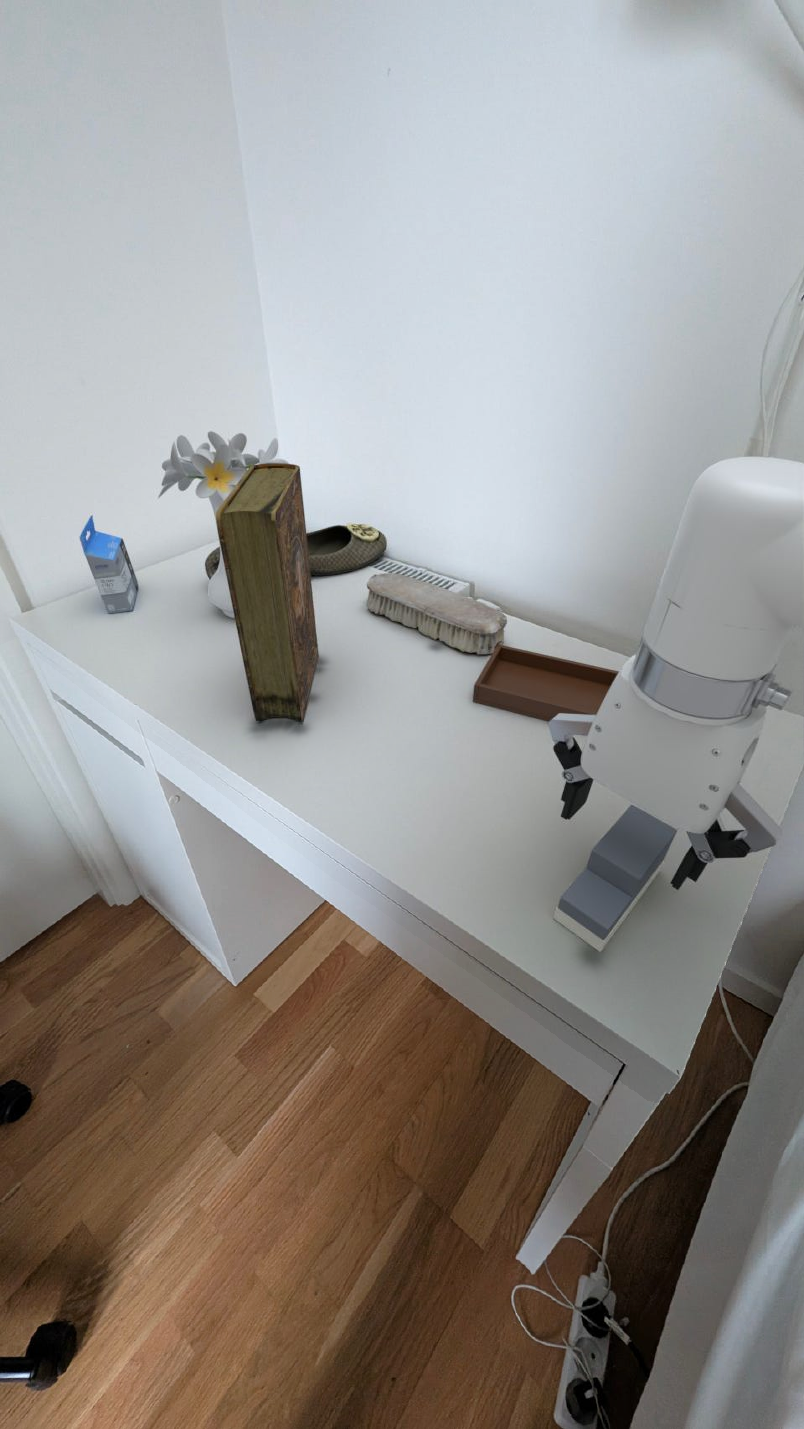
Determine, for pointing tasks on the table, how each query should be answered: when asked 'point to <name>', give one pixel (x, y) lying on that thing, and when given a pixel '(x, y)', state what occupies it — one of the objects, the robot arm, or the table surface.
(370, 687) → the table surface
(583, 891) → the grey stepped block
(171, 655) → the table surface
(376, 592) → the shoe brush
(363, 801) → the table surface
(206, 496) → the flower vase
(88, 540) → the label tape box
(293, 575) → the book
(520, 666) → the tray
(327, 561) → the flat
